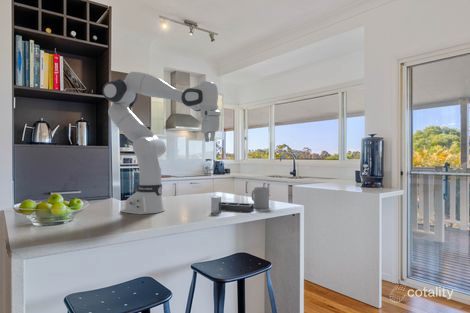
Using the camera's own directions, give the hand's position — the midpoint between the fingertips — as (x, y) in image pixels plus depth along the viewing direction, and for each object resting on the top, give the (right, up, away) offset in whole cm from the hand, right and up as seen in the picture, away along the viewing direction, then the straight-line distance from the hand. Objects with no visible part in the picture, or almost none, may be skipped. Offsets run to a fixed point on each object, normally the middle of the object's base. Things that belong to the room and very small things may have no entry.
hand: (209, 141), depth 150 cm
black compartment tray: (+12, -37, +13) cm, 40 cm away
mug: (+27, -37, +21) cm, 50 cm away
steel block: (+3, -37, +5) cm, 37 cm away
